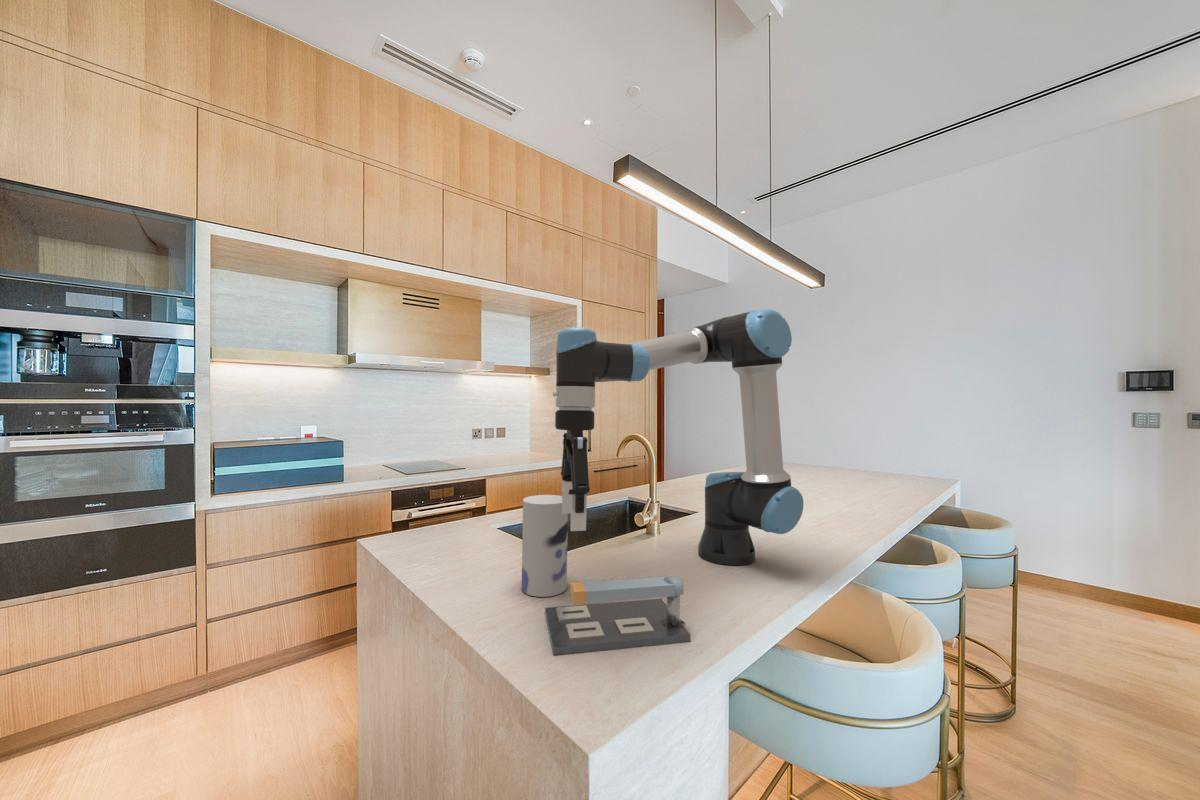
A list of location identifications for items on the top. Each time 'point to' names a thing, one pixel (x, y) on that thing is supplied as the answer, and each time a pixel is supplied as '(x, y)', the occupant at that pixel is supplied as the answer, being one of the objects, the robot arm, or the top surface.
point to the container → (544, 546)
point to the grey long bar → (625, 589)
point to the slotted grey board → (611, 626)
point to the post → (673, 612)
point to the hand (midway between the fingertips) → (573, 521)
